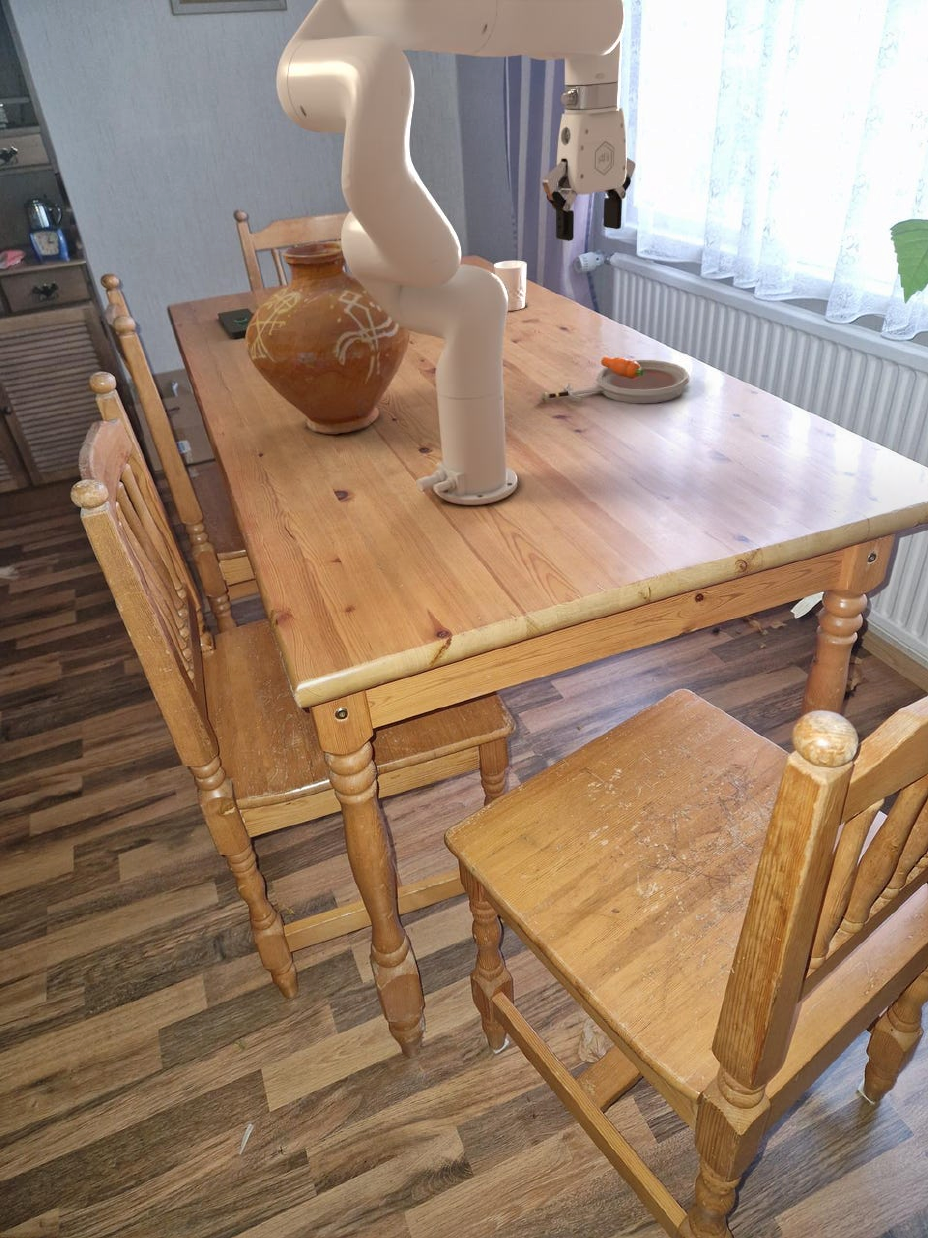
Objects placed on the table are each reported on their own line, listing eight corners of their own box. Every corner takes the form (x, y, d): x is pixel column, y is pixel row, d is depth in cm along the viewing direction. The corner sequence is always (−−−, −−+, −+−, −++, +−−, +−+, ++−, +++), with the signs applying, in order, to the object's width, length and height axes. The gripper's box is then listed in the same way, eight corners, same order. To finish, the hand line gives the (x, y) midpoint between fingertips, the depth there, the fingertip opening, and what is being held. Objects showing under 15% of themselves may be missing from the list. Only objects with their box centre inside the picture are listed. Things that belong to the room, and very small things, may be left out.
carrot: (636, 384, 147) (648, 376, 148) (634, 369, 145) (646, 361, 146) (597, 371, 154) (609, 363, 154) (595, 356, 152) (607, 349, 152)
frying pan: (529, 374, 155) (668, 352, 158) (529, 389, 156) (667, 367, 159) (554, 405, 141) (706, 381, 144) (554, 421, 143) (704, 397, 146)
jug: (253, 410, 155) (215, 241, 138) (394, 383, 162) (374, 219, 145) (281, 467, 134) (239, 275, 116) (441, 432, 141) (425, 247, 123)
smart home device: (230, 332, 193) (216, 312, 208) (232, 339, 194) (218, 319, 209) (264, 325, 196) (248, 307, 211) (266, 333, 197) (249, 314, 212)
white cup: (491, 311, 199) (490, 268, 193) (500, 302, 205) (498, 260, 199) (523, 311, 197) (522, 268, 191) (530, 302, 203) (529, 260, 197)
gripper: (563, 106, 106) (562, 247, 116) (655, 92, 113) (647, 226, 123) (526, 105, 111) (528, 240, 121) (617, 92, 118) (612, 220, 128)
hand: (588, 233), depth 122 cm, fingers open, 9 cm apart
